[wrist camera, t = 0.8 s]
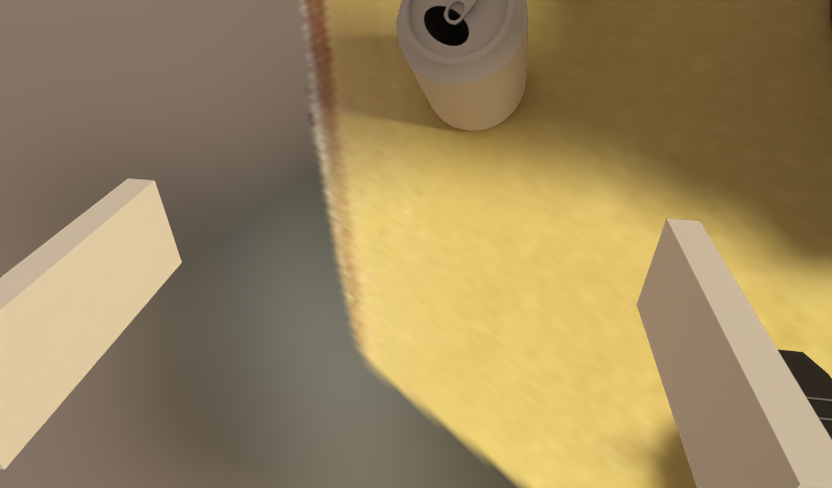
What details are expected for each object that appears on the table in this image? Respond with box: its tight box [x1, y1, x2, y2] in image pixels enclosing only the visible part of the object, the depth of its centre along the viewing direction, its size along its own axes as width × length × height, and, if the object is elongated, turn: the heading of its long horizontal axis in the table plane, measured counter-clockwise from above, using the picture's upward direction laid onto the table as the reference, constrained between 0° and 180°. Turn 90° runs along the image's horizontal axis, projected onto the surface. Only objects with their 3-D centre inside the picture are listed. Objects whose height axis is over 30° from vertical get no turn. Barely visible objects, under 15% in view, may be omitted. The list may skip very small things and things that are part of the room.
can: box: [397, 0, 528, 131], centre depth 33 cm, size 8×8×12 cm
